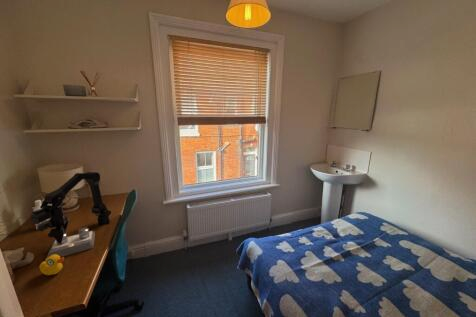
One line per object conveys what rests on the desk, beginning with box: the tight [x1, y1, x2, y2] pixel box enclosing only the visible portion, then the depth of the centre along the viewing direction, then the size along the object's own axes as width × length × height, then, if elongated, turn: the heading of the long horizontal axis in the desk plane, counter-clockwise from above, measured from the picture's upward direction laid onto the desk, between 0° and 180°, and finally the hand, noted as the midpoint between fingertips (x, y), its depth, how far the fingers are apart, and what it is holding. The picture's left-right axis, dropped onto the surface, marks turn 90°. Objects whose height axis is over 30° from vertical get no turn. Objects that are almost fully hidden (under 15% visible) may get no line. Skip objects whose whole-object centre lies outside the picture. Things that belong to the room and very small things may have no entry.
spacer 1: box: [56, 231, 68, 245], centre depth 116 cm, size 5×5×5 cm
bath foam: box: [32, 199, 50, 231], centre depth 136 cm, size 7×7×20 cm
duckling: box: [39, 254, 65, 276], centre depth 97 cm, size 11×5×10 cm, turn 93°
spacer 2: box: [77, 227, 90, 240], centre depth 122 cm, size 5×5×5 cm
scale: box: [46, 230, 96, 258], centre depth 118 cm, size 20×16×5 cm
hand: (61, 238), depth 116 cm, fingers open, 9 cm apart
